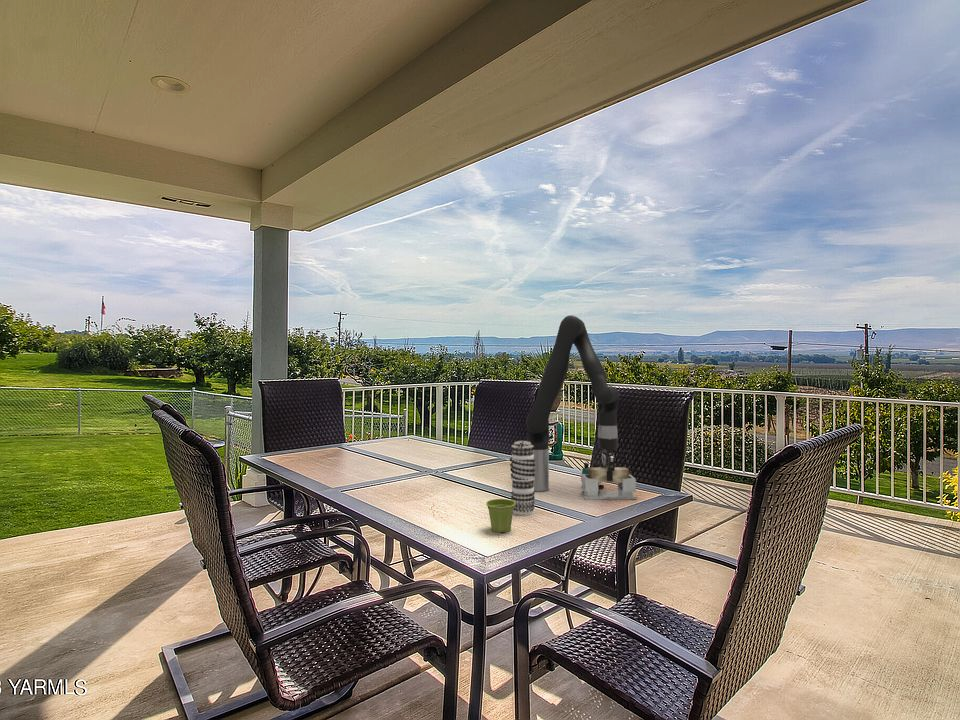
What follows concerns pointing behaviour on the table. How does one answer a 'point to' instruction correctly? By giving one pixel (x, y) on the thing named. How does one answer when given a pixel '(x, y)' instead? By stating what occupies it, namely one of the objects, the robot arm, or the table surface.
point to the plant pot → (500, 514)
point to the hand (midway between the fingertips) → (608, 479)
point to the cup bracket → (623, 491)
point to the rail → (602, 474)
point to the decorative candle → (522, 477)
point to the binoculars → (585, 471)
